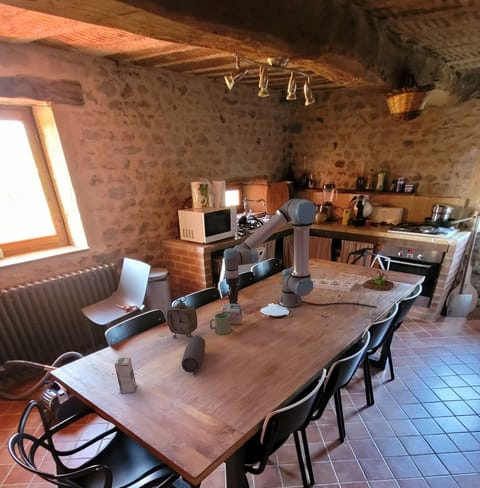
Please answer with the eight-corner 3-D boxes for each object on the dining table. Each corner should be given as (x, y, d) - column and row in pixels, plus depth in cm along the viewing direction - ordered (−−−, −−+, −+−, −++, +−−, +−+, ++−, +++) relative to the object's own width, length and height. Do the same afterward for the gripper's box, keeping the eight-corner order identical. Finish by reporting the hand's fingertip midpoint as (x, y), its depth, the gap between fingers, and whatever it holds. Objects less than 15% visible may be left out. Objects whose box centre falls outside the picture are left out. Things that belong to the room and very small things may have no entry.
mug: (229, 327, 211) (228, 312, 206) (231, 333, 204) (230, 317, 199) (209, 329, 210) (208, 314, 205) (211, 335, 202) (209, 319, 197)
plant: (369, 280, 275) (371, 266, 270) (396, 284, 265) (398, 269, 259) (360, 288, 261) (362, 272, 256) (388, 292, 251) (390, 276, 245)
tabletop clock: (170, 338, 201) (163, 295, 189) (178, 332, 208) (172, 290, 196) (193, 341, 196) (188, 297, 184) (200, 334, 204) (195, 292, 192)
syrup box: (123, 386, 160) (116, 357, 153) (136, 385, 160) (130, 356, 153) (120, 393, 155) (113, 364, 148) (134, 392, 155) (127, 363, 148)
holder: (291, 284, 276) (291, 281, 275) (300, 278, 289) (300, 274, 288) (349, 291, 255) (350, 288, 254) (356, 284, 268) (357, 281, 267)
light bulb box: (242, 316, 218) (240, 303, 210) (241, 324, 214) (239, 311, 206) (225, 316, 220) (222, 303, 211) (223, 324, 216) (221, 311, 207)
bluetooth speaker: (189, 352, 185) (187, 334, 180) (207, 351, 185) (205, 334, 180) (181, 375, 166) (178, 356, 161) (201, 375, 165) (199, 355, 160)
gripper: (230, 272, 212) (232, 309, 224) (221, 279, 202) (225, 318, 214) (242, 273, 209) (243, 310, 222) (234, 280, 200) (236, 319, 212)
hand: (234, 314), depth 218 cm, fingers closed
